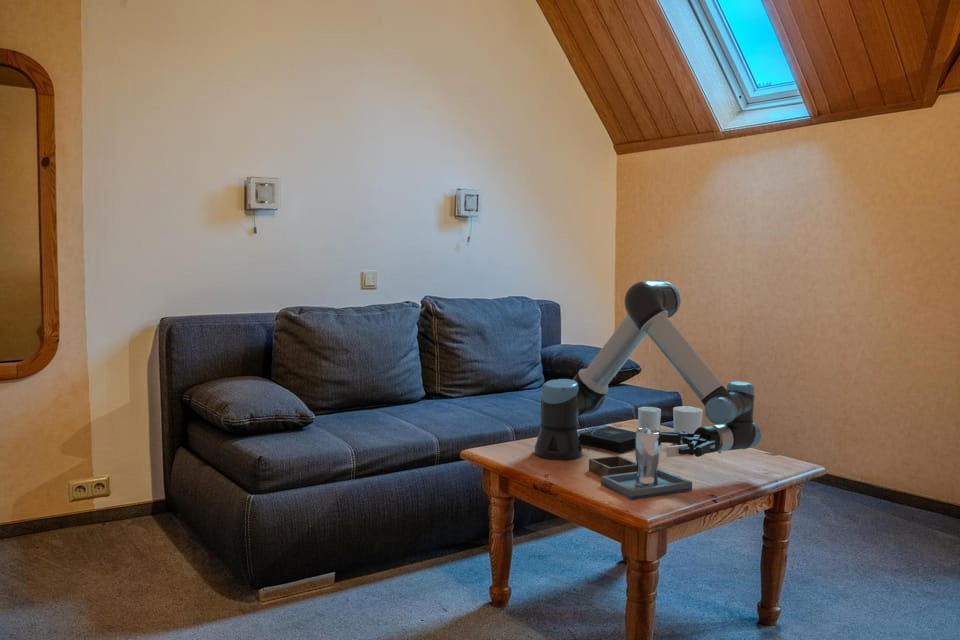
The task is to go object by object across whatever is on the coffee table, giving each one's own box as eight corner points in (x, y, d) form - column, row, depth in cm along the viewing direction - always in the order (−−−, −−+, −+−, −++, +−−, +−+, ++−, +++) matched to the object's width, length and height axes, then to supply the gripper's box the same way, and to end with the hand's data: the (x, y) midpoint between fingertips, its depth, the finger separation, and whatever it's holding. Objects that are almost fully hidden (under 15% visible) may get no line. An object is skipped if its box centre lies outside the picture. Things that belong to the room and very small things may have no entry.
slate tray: (601, 485, 206) (601, 476, 206) (659, 477, 215) (659, 468, 214) (631, 500, 194) (631, 491, 193) (691, 491, 202) (692, 482, 202)
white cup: (658, 434, 267) (659, 407, 266) (661, 439, 259) (662, 411, 258) (636, 433, 268) (636, 406, 267) (638, 439, 260) (639, 410, 259)
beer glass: (628, 482, 206) (630, 429, 204) (649, 479, 208) (650, 427, 207) (644, 489, 199) (646, 434, 198) (665, 486, 202) (666, 432, 201)
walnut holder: (588, 470, 220) (589, 459, 220) (618, 466, 225) (618, 455, 224) (609, 480, 211) (609, 468, 210) (639, 476, 215) (640, 464, 215)
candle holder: (706, 443, 255) (707, 409, 254) (693, 448, 247) (694, 413, 246) (680, 438, 261) (681, 405, 260) (666, 443, 254) (667, 409, 253)
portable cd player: (607, 437, 264) (607, 426, 264) (648, 446, 252) (648, 434, 252) (577, 444, 253) (578, 433, 252) (619, 454, 241) (619, 442, 240)
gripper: (743, 463, 201) (680, 471, 192) (683, 441, 224) (624, 448, 215) (745, 435, 200) (681, 442, 192) (684, 417, 223) (625, 422, 214)
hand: (651, 445), depth 203 cm, fingers open, 13 cm apart
